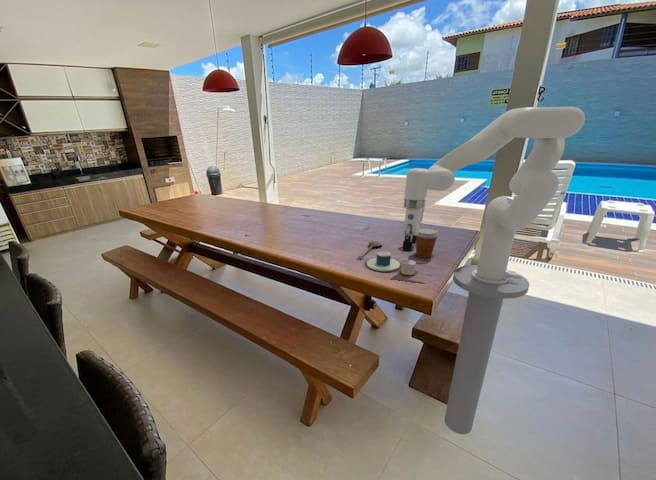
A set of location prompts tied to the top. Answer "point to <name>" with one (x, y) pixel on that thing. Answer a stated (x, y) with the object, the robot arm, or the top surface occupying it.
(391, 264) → the saucer
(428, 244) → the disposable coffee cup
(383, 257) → the cylinder
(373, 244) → the soupspoon
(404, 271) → the cylinder
